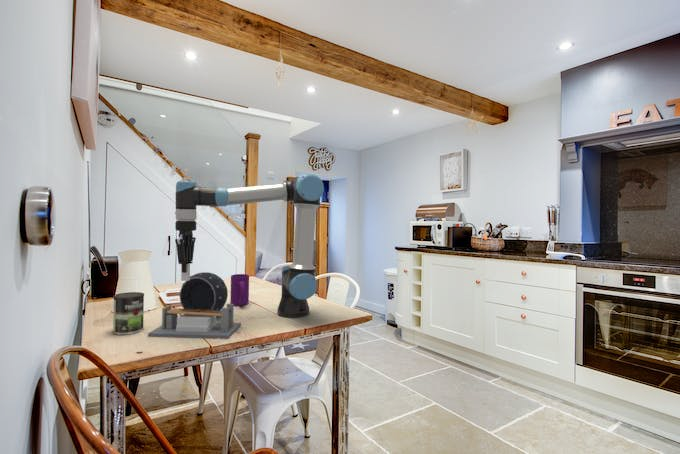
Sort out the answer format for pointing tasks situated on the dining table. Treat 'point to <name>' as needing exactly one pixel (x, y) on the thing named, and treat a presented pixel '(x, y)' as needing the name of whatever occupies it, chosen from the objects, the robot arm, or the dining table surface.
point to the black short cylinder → (203, 292)
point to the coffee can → (128, 313)
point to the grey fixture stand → (196, 325)
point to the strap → (195, 311)
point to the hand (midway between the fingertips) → (185, 280)
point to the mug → (239, 289)
